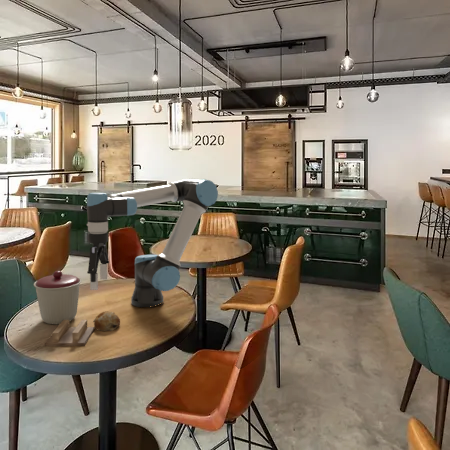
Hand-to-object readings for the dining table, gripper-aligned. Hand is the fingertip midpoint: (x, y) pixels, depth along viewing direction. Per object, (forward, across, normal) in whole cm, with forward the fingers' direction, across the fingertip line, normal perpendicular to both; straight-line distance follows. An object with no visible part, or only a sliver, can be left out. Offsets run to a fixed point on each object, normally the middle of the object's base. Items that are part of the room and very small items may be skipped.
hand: (99, 284), depth 156 cm
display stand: (+17, +12, -8) cm, 22 cm away
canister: (+18, -5, -18) cm, 26 cm away
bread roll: (+18, +1, +3) cm, 18 cm away
